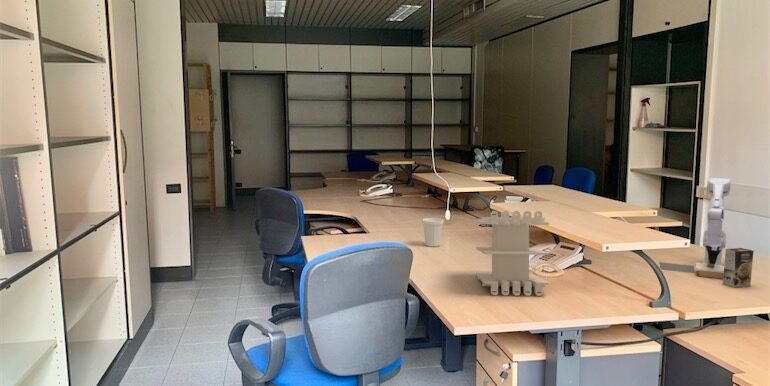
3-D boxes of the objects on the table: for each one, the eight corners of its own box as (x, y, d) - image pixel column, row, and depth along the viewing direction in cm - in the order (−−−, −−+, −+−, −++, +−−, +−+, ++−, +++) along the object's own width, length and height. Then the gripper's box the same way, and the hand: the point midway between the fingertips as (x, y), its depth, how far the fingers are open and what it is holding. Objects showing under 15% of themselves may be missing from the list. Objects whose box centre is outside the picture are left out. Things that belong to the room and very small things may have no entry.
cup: (419, 247, 317) (420, 220, 315) (424, 242, 329) (424, 217, 327) (441, 248, 314) (441, 222, 312) (445, 243, 326) (445, 218, 324)
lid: (695, 264, 266) (696, 254, 265) (724, 267, 260) (725, 257, 260) (696, 269, 255) (696, 259, 255) (726, 273, 250) (727, 262, 249)
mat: (659, 263, 281) (659, 262, 281) (693, 266, 275) (693, 265, 275) (659, 270, 268) (659, 269, 268) (694, 273, 261) (695, 273, 261)
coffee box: (734, 288, 239) (737, 251, 237) (721, 284, 245) (724, 248, 243) (751, 286, 242) (754, 250, 240) (738, 282, 248) (741, 247, 246)
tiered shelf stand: (484, 295, 228) (484, 210, 229) (475, 285, 259) (475, 210, 260) (549, 296, 227) (549, 211, 228) (532, 286, 258) (532, 211, 259)
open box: (698, 272, 265) (698, 264, 264) (722, 274, 260) (723, 267, 260) (699, 277, 256) (699, 269, 255) (724, 279, 251) (725, 272, 251)
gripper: (703, 230, 264) (701, 258, 265) (705, 235, 251) (703, 265, 253) (720, 231, 261) (718, 259, 262) (723, 237, 248) (720, 266, 249)
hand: (711, 262), depth 257 cm, fingers open, 4 cm apart
